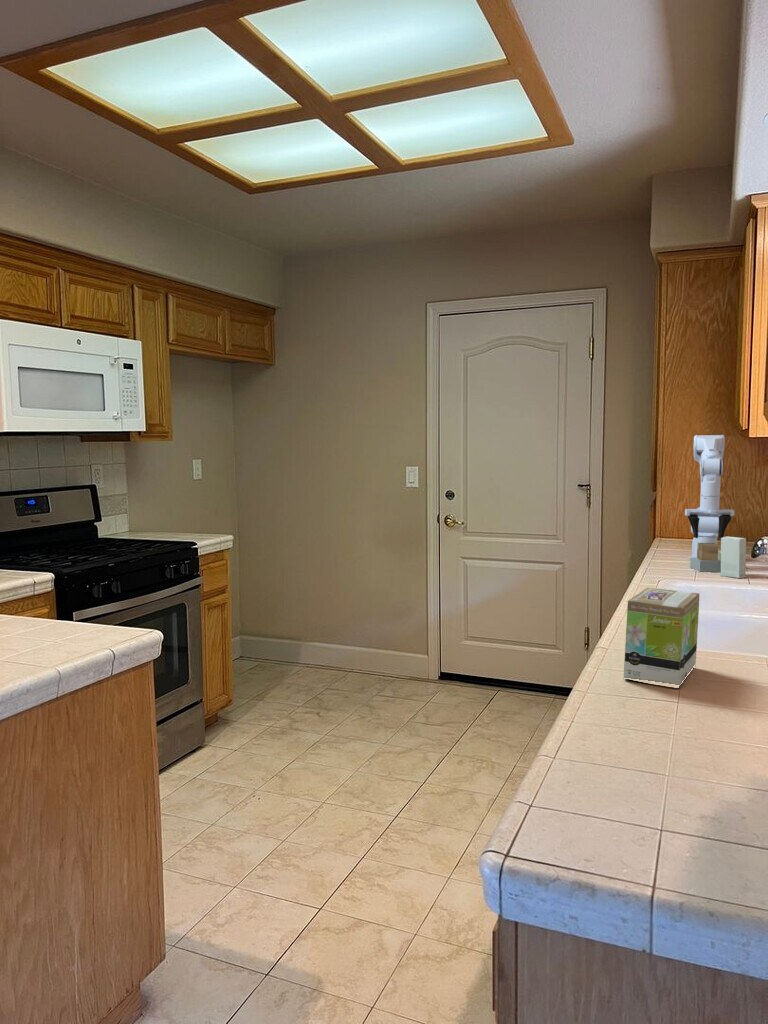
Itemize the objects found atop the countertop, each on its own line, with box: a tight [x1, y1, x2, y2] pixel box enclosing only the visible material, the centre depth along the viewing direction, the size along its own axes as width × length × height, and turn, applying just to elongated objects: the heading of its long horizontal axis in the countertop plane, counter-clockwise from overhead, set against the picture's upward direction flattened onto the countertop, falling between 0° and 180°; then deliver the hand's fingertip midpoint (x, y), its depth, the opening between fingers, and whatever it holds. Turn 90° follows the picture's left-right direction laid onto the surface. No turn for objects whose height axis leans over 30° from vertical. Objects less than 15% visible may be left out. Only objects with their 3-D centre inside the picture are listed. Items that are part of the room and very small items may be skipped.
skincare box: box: [720, 535, 747, 579], centre depth 231 cm, size 6×4×12 cm
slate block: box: [689, 557, 721, 573], centre depth 242 cm, size 7×7×4 cm
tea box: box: [623, 587, 700, 685], centre depth 138 cm, size 15×10×15 cm, turn 148°
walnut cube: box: [697, 543, 719, 561], centre depth 242 cm, size 5×5×5 cm
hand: (708, 537), depth 243 cm, fingers open, 7 cm apart
